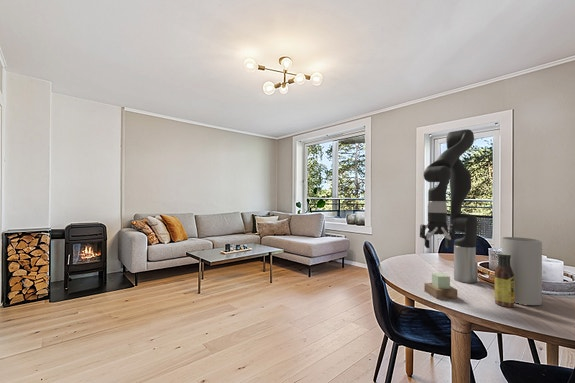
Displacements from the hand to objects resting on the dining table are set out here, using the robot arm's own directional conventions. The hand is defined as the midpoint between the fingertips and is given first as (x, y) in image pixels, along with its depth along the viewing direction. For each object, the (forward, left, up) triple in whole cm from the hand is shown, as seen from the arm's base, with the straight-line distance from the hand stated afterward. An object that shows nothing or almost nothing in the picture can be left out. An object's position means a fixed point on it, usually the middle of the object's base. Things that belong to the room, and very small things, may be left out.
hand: (437, 248), depth 124 cm
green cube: (0, +4, -16) cm, 16 cm away
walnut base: (0, +3, -20) cm, 20 cm away
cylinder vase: (-30, +7, -20) cm, 37 cm away
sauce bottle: (-20, +12, -20) cm, 31 cm away
